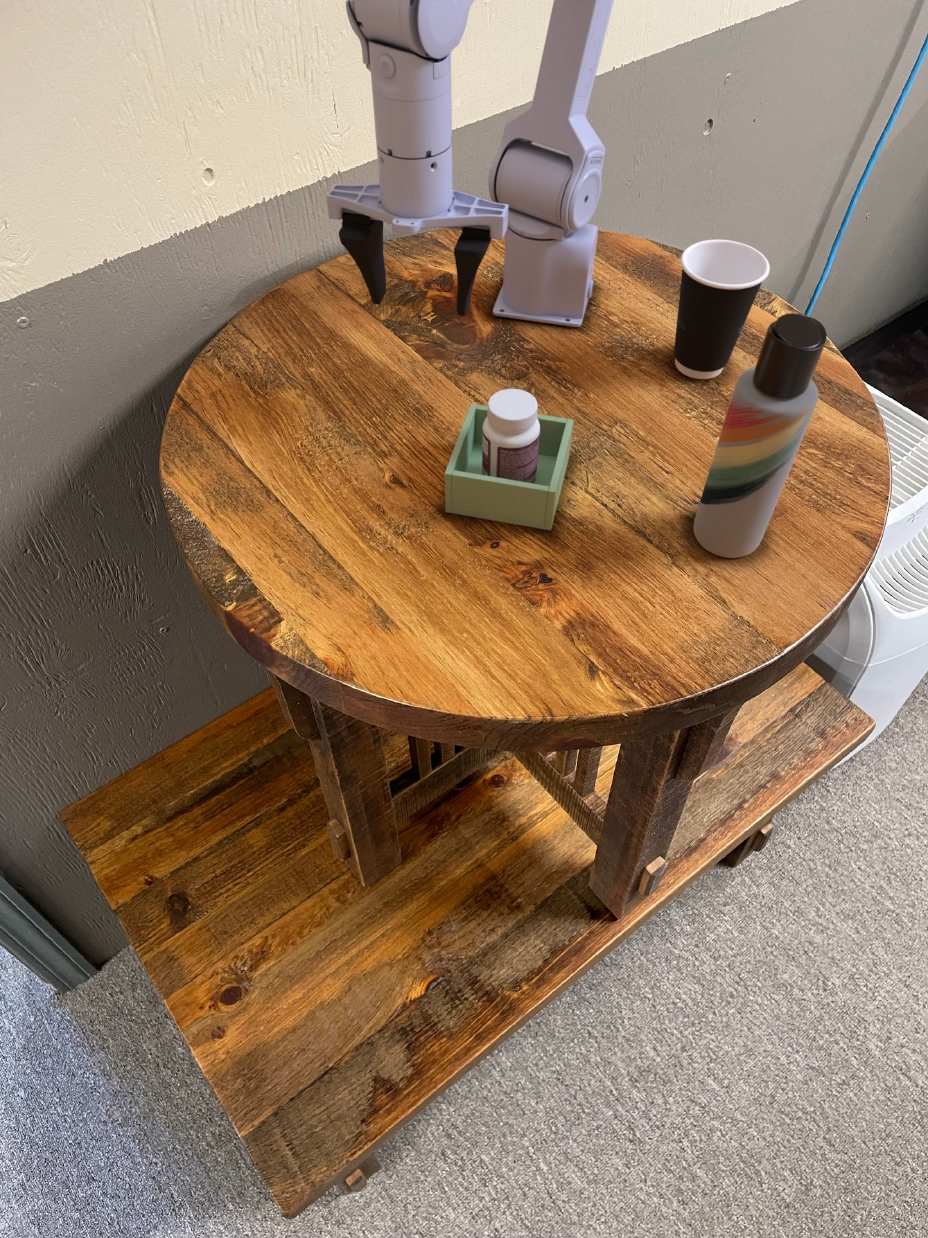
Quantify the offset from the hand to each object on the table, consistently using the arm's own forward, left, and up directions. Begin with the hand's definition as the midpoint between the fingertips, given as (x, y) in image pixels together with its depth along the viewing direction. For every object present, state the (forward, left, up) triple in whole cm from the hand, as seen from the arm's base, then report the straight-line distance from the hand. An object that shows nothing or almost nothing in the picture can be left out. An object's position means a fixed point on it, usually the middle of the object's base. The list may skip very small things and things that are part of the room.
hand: (421, 303), depth 76 cm
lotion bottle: (-29, +12, -10) cm, 33 cm away
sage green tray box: (-10, +10, -10) cm, 18 cm away
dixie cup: (-25, -11, -10) cm, 30 cm away
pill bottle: (-10, +10, -10) cm, 17 cm away
